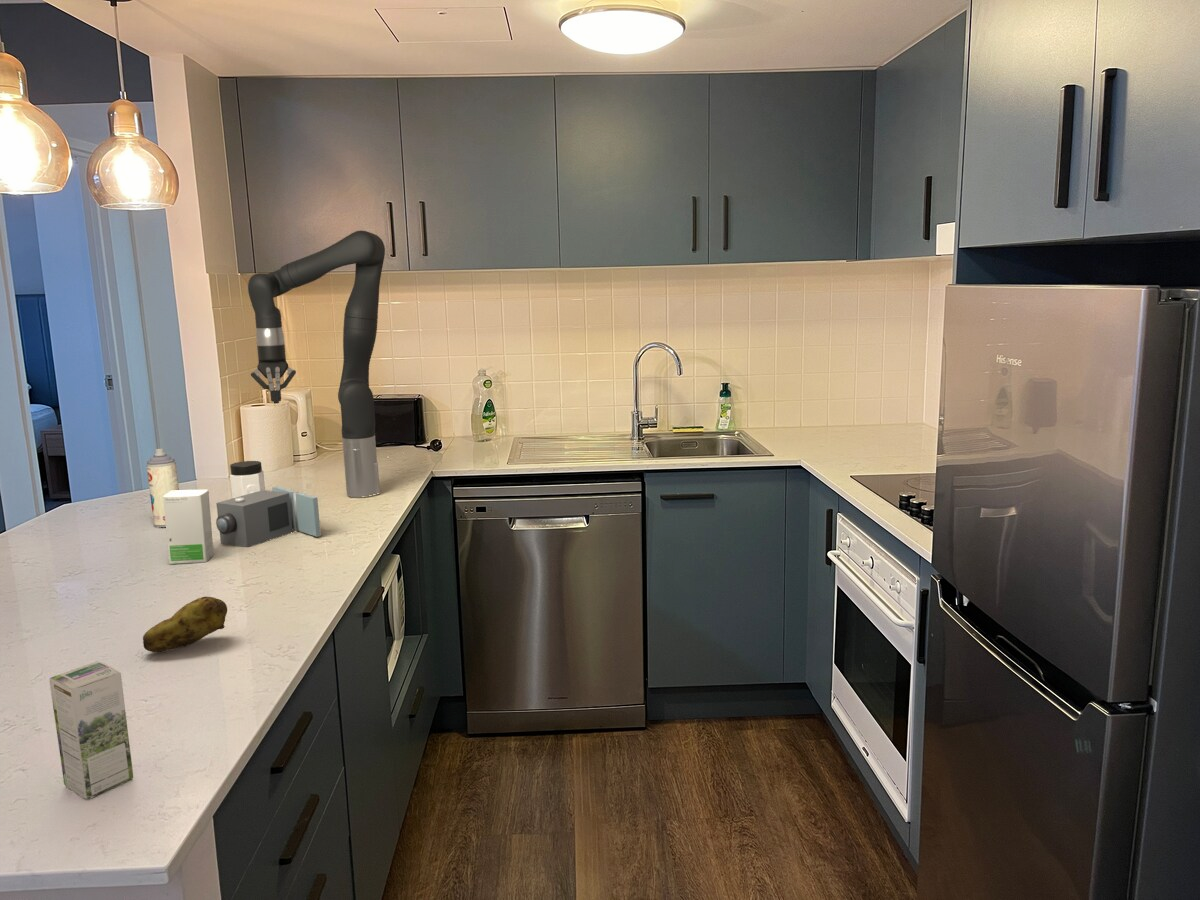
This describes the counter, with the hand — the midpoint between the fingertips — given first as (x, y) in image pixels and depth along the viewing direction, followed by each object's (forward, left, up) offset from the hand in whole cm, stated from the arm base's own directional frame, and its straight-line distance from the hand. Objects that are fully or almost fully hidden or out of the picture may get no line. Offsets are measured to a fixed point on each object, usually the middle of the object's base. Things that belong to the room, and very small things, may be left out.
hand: (276, 403), depth 256 cm
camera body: (+6, +50, -27) cm, 57 cm away
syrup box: (+17, +159, -27) cm, 162 cm away
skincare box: (+18, +62, -27) cm, 70 cm away
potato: (+12, +116, -27) cm, 120 cm away
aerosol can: (+28, +26, -27) cm, 47 cm away
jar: (+9, +12, -27) cm, 31 cm away
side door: (-5, +47, -27) cm, 55 cm away
